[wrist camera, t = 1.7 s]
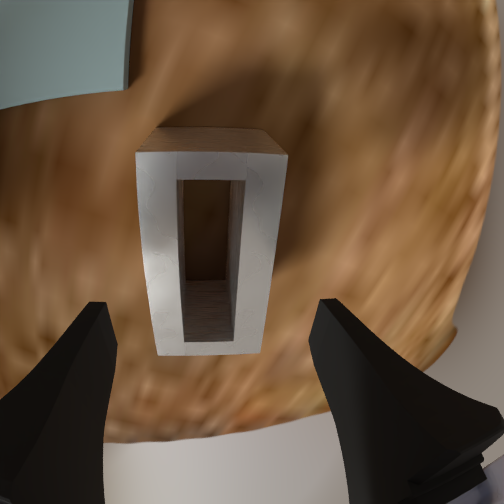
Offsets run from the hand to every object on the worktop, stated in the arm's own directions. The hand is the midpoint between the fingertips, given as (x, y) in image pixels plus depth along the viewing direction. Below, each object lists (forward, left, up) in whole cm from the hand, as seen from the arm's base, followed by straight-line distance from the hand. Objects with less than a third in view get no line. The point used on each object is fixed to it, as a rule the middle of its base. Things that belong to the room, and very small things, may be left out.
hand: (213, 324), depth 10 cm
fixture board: (-9, +14, -8) cm, 18 cm away
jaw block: (0, 0, -8) cm, 8 cm away
